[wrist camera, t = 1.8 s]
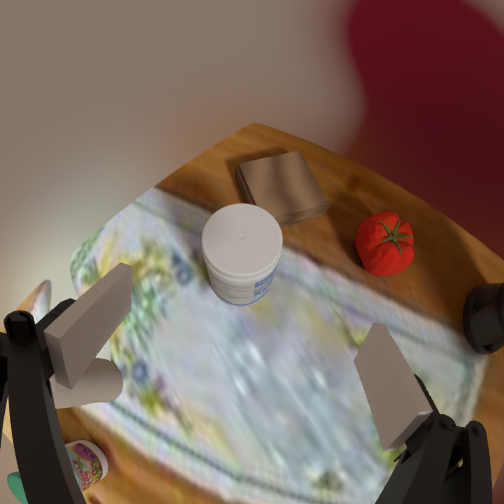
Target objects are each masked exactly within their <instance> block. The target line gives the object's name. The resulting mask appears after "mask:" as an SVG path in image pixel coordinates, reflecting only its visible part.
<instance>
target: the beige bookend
mask: <svg viewBox="0 0 504 504" xmlns="http://www.w3.org/2000/svg"><path fill="white" fill-rule="evenodd" d="M50 383H51V387H52V393H53V398H54V403H55V408H56V409H59V408H69V407H76V406H81V405H86V404H90V403H95V402H109V401H113V400H115V399H116V398H117V397H118V396H119V395H120V393H121V391H122V388H123V379H122V375H121V373H120V371H119V369H118V368H117V366H116V365H115V364H114V363H112V362H111V361H109V360H106V359H100V358H94V359H93V361H92V362H91V364H90V365H89V366H88V368H87V369H86V370H85V372H84V373H83V375H82V376H81V377H80V379H79V380H78V382H77V383H76V385H75V386H74V387H73V389H72V390H70V389H68V388H66V387H64V386H62V385H60V384H58V383H57V381H56V378H55V375H54V374H53V375H52V377H51V378H50Z"/></svg>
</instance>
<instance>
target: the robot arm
mask: <svg viewBox="0 0 504 504" xmlns="http://www.w3.org/2000/svg"><path fill="white" fill-rule="evenodd" d="M132 275H133V266H130V265H127V264H124V263H119V264H118V265H117V266H116V267H115V268H113V269H112V270H111V271H110V272H109V273H107V274H106V275H105V276H104V277H103V278H101V279H100V280H99V281H98V282H97V283H96V284H94V285H93V286H92V287H91V288H90V289H89V290H88V291H86V292H85V293H84V294H83V295H82V296H81V297H80V298H79V299H77V300H73V299H71V298H70V299H67V300H65V301H62V302H60V303H59V304H58V305H57V306H56V307H55V308H54V309H52V310H51V311H50V312H49V314H47V315H45V316H44V317H43V318H42V319H41V320H40V321H39V322H38V323H37V324H35V322H34V318H33V316H32V315H31V314H30V313H29V312H26V311H21V310H19V311H14V312H12V313H9V314H8V315H7V316H6V317H5V319H4V325H5V329H6V333H7V334H6V333H2V332H0V447H1V437H2V429H3V421H4V415H5V409H6V403H7V398H8V399H9V412H10V422H11V430H12V437H13V443H14V449H15V455H16V460H17V464H18V469H19V473H20V477H21V481H22V485H23V489H24V492H25V496H26V499H27V502H28V504H87V503H86V501H85V499H84V496H83V494H82V492H81V489H80V487H79V484H78V482H77V479H76V476H75V474H74V471H73V468H72V465H71V462H70V459H69V456H68V453H67V450H66V447H65V443H64V440H63V436H62V433H61V429H60V425H59V421H58V417H57V412H56V408H55V403H54V398H53V393H52V387H51V383H50V378H51V377H52V375H53V374H54V375H55V378H56V381H57V383H58V384H60V385H62V386H64V387H66V388H68V389H70V390H72V389H73V387H74V386H75V385H76V383H77V382H78V380H79V379H80V377H81V376H82V375H83V373H84V372H85V370H86V369H87V368H88V366H89V365H90V364H91V362H92V361H93V359H94V358H95V357H96V355H97V353H99V351H100V350H101V348H102V347H103V346H104V345H105V343H106V342H107V341H108V339H109V338H110V337H111V335H112V334H113V333H114V331H115V330H116V329H117V327H118V326H119V325H120V324H121V322H122V321H123V320H124V318H125V317H126V316H127V315H128V313H129V312H130V311H131V293H132ZM463 319H464V328H465V333H466V336H467V339H468V341H469V343H470V345H471V346H472V348H473V349H474V350H475V351H476V352H478V353H480V354H489V353H493V352H496V351H498V350H499V349H500V348H502V347H503V346H504V283H487V284H482V285H480V286H478V287H476V288H474V289H473V290H472V291H471V292H470V293H469V295H468V296H467V299H466V302H465V306H464V314H463ZM354 363H355V366H356V368H357V371H358V374H359V377H360V380H361V382H362V385H363V388H364V391H365V394H366V397H367V400H368V403H369V406H370V409H371V412H372V415H373V418H374V421H375V424H376V427H377V430H378V433H379V436H380V440H381V443H382V446H383V449H384V451H391V450H398V449H399V448H400V447H401V446H402V445H403V444H404V443H406V446H407V448H406V449H405V450H404V451H403V452H402V453H401V454H400V455H399V456H398V457H397V458H396V459H395V460H394V462H396V461H397V460H398V459H399V461H398V463H397V465H396V467H395V469H394V471H393V473H392V475H391V477H390V478H389V480H388V482H387V484H386V486H385V487H384V489H383V491H382V493H381V494H380V496H379V498H378V499H377V501H376V503H375V504H492V480H491V466H490V456H489V448H488V441H487V434H486V430H485V428H484V427H483V425H482V424H481V423H480V422H477V421H470V422H469V423H468V424H467V425H466V426H465V428H464V427H459V426H456V424H455V422H454V421H453V419H452V418H450V417H449V416H447V415H445V414H440V413H439V411H438V409H437V408H436V406H435V404H434V402H433V400H432V398H431V396H430V395H429V393H428V391H427V390H426V387H425V385H424V384H423V382H422V380H421V379H420V378H419V377H418V376H417V375H416V374H413V372H412V371H411V369H410V367H409V365H408V364H407V362H406V360H405V358H404V357H403V355H402V353H401V351H400V350H399V348H398V346H397V345H396V343H395V341H394V340H393V338H392V336H391V335H390V333H389V331H388V330H387V328H386V326H385V325H383V324H378V323H373V325H372V327H371V329H370V331H369V333H368V335H367V337H366V338H365V340H364V342H363V344H362V346H361V348H360V350H359V352H358V354H357V355H356V357H355V359H354ZM462 460H463V464H462V466H460V467H459V462H460V461H462Z"/></svg>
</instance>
